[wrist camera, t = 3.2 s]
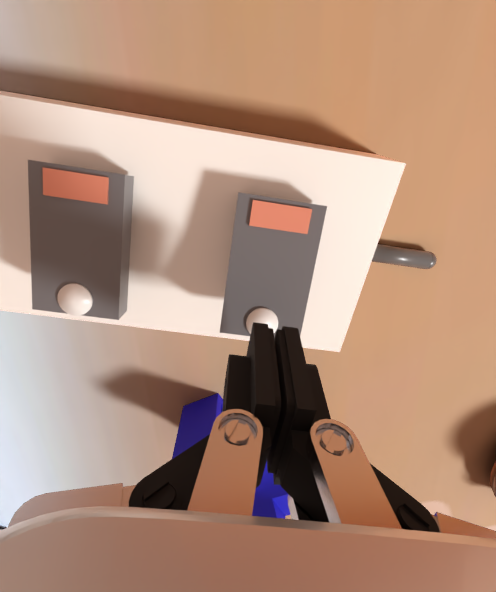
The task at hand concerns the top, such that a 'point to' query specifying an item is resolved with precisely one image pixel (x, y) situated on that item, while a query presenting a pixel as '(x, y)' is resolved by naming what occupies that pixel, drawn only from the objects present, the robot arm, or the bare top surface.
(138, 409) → the top surface
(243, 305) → the grey flat block
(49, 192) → the block
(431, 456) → the top surface
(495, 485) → the cup and saucer
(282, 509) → the cable clip
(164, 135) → the power strip
